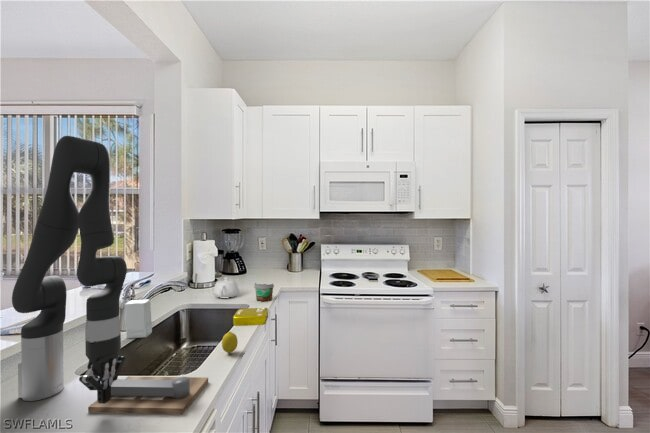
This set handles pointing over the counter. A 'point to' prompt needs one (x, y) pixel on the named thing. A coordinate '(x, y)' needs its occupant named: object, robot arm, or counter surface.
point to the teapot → (226, 288)
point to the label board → (151, 400)
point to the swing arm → (151, 387)
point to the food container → (264, 292)
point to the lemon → (229, 342)
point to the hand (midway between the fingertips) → (104, 401)
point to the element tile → (250, 316)
